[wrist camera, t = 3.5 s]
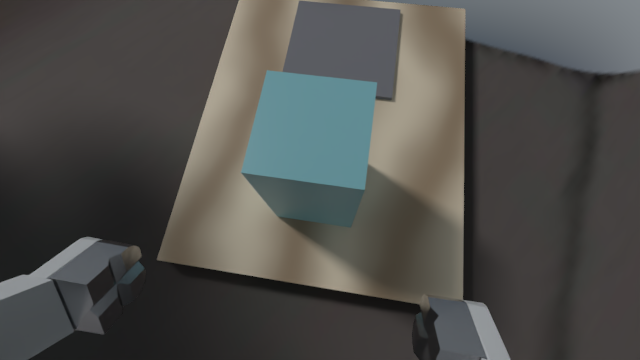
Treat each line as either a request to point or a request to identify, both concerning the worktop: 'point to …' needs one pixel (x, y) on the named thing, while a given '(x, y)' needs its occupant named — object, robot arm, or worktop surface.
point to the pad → (345, 43)
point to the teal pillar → (311, 146)
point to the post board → (381, 180)
